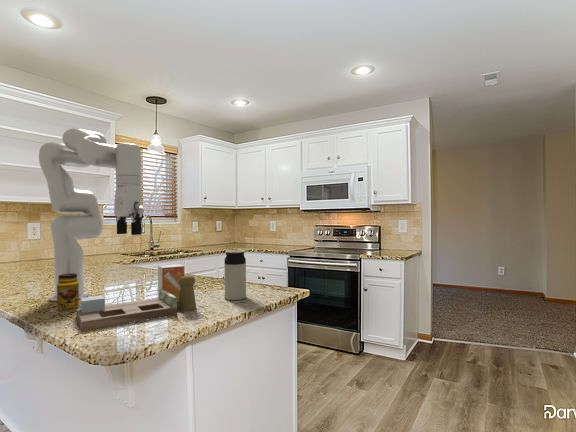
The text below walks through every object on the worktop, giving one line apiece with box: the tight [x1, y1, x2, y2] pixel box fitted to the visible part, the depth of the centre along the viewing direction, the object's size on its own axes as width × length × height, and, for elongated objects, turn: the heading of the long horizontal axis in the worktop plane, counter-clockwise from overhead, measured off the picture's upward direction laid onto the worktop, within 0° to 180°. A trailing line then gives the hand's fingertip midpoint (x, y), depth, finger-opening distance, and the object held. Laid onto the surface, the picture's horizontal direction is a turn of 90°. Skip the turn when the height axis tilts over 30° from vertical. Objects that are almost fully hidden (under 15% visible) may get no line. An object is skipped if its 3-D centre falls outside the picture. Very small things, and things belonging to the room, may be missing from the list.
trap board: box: [76, 289, 178, 332], centre depth 109 cm, size 16×26×6 cm, turn 125°
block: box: [80, 295, 106, 313], centre depth 108 cm, size 5×6×4 cm
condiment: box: [47, 273, 81, 315], centre depth 117 cm, size 7×8×12 cm
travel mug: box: [224, 249, 247, 301], centre depth 132 cm, size 8×8×18 cm
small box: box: [157, 263, 185, 303], centre depth 128 cm, size 8×6×13 cm
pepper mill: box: [177, 275, 197, 312], centre depth 117 cm, size 6×6×11 cm
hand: (129, 234), depth 114 cm, fingers open, 9 cm apart
